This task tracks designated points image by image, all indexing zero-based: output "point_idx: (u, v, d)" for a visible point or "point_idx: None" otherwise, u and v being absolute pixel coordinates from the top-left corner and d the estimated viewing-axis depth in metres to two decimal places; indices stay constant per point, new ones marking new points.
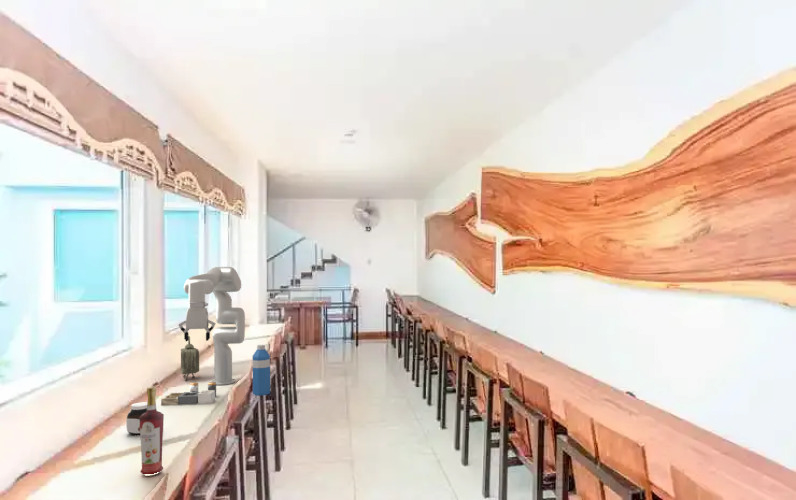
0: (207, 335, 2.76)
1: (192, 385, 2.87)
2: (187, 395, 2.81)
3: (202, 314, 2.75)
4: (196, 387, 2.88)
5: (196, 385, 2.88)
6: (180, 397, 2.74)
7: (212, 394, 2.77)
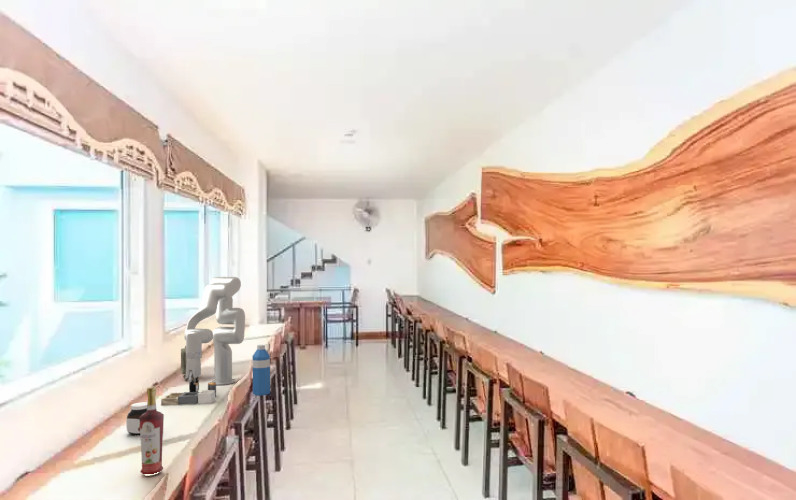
0: None
1: None
2: (187, 395, 2.81)
3: (200, 362, 2.92)
4: (196, 387, 2.88)
5: (196, 385, 2.88)
6: (180, 397, 2.74)
7: (212, 394, 2.77)
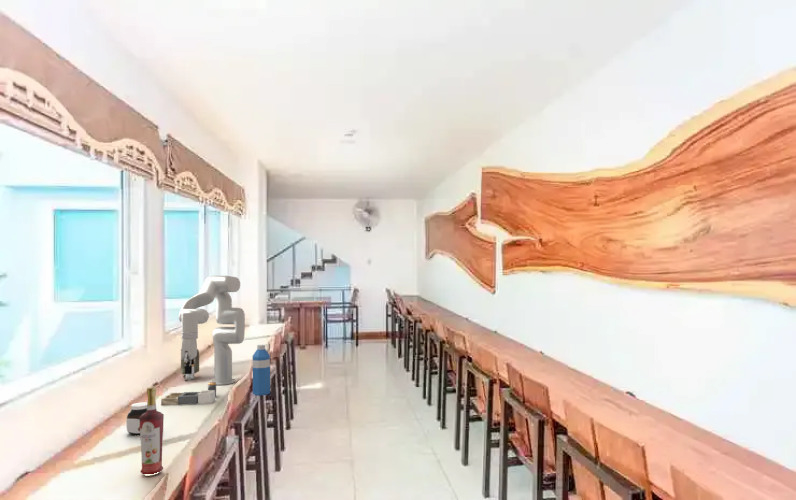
0: None
1: None
2: (187, 395, 2.81)
3: (196, 343, 2.82)
4: (192, 368, 2.78)
5: (192, 366, 2.78)
6: (180, 397, 2.74)
7: (212, 394, 2.77)
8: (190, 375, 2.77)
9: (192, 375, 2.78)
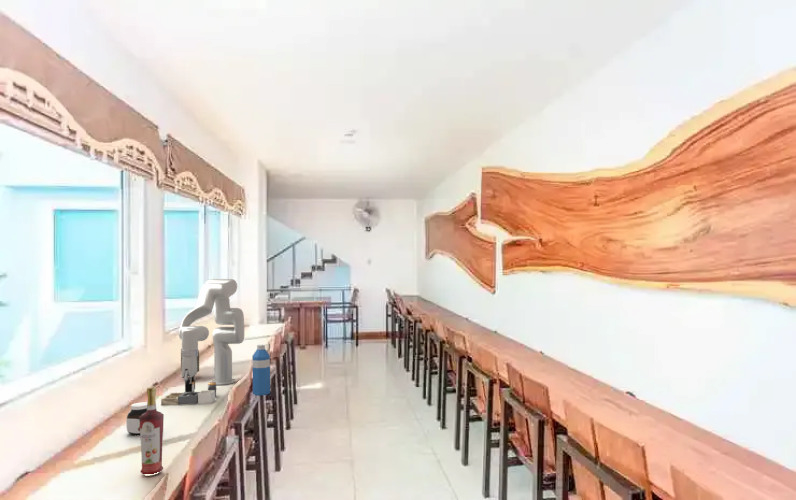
0: None
1: None
2: None
3: (196, 360, 2.82)
4: (192, 386, 2.78)
5: (192, 384, 2.78)
6: (180, 397, 2.74)
7: (212, 394, 2.77)
8: (190, 393, 2.77)
9: (192, 393, 2.78)
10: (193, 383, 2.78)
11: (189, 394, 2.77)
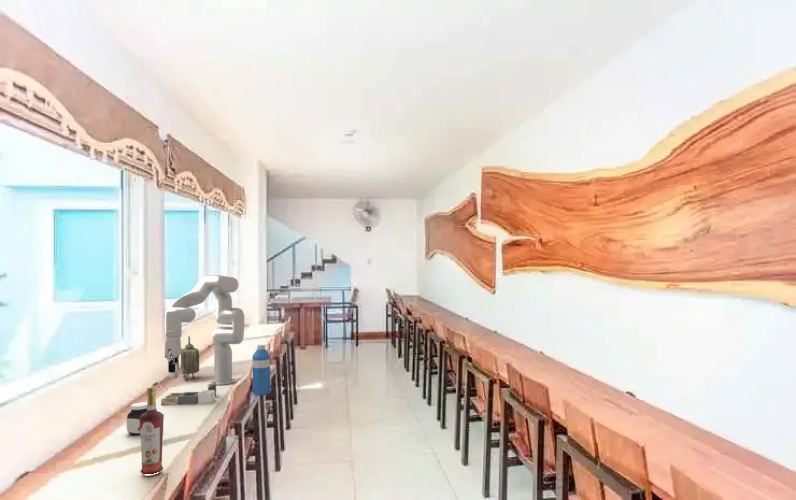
0: None
1: None
2: None
3: (180, 341, 2.83)
4: (175, 367, 2.78)
5: (175, 365, 2.79)
6: (180, 397, 2.74)
7: (212, 394, 2.77)
8: (173, 373, 2.78)
9: (176, 373, 2.78)
10: (176, 364, 2.79)
11: (172, 374, 2.78)
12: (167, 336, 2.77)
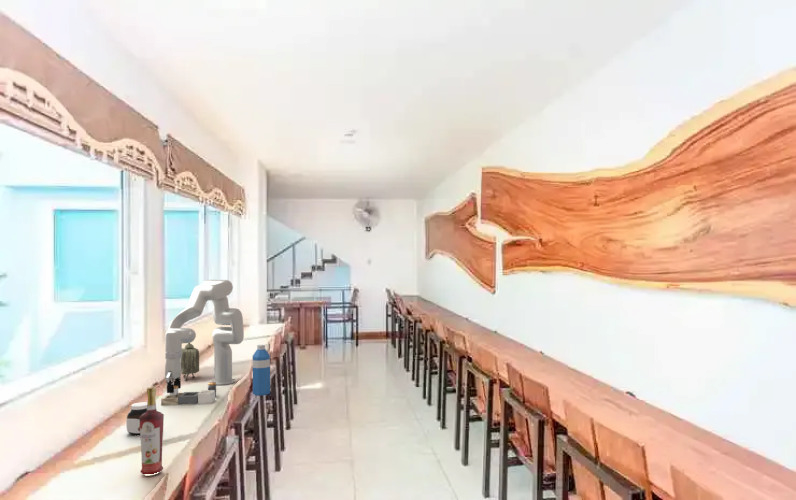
0: None
1: None
2: None
3: (180, 362, 2.83)
4: (176, 390, 2.78)
5: (176, 388, 2.79)
6: (180, 397, 2.74)
7: (212, 394, 2.77)
8: (174, 397, 2.78)
9: (176, 397, 2.79)
10: (177, 387, 2.79)
11: None
12: (167, 358, 2.76)
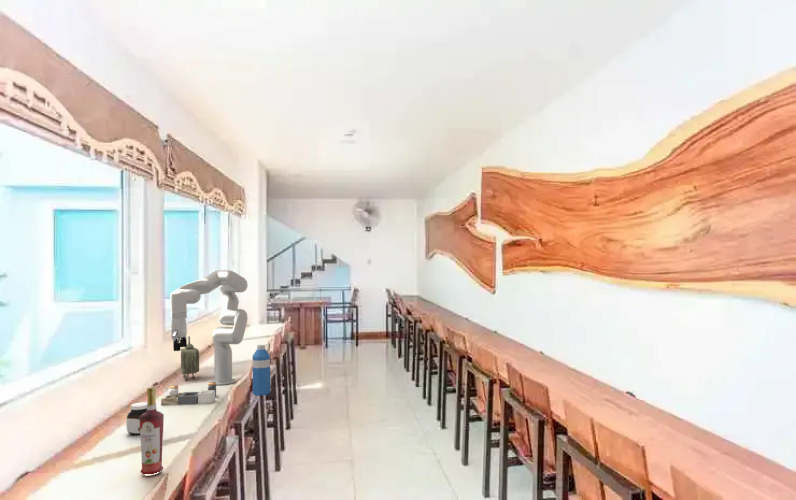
0: None
1: (172, 388, 2.78)
2: None
3: (185, 322, 2.91)
4: (176, 390, 2.78)
5: (176, 388, 2.79)
6: (180, 397, 2.74)
7: (212, 394, 2.77)
8: (174, 397, 2.78)
9: (176, 397, 2.79)
10: (177, 387, 2.79)
11: None
12: (173, 317, 2.85)
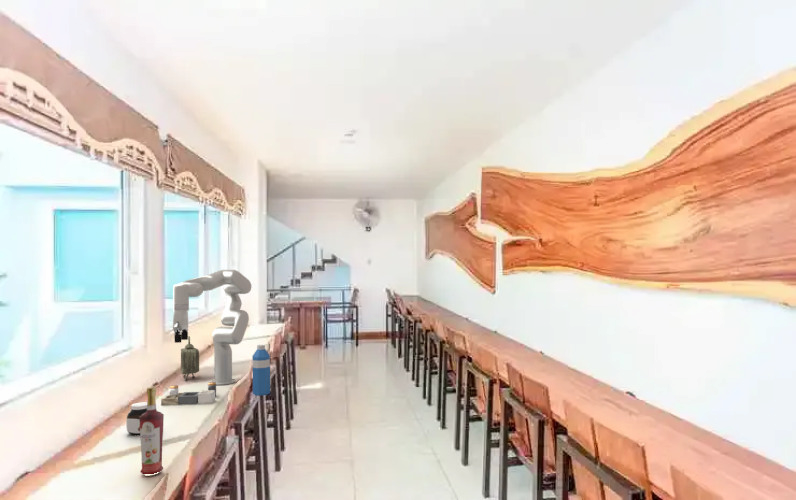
0: None
1: (172, 388, 2.78)
2: None
3: (187, 315, 2.94)
4: (176, 390, 2.79)
5: (176, 388, 2.79)
6: (180, 397, 2.74)
7: (212, 394, 2.77)
8: (174, 397, 2.78)
9: (176, 397, 2.79)
10: (177, 387, 2.79)
11: None
12: (175, 309, 2.88)
